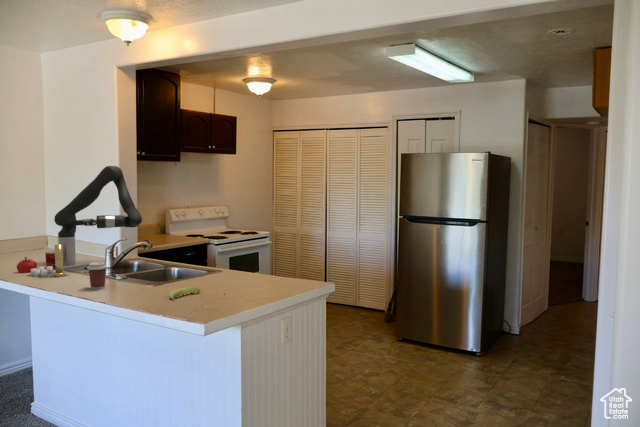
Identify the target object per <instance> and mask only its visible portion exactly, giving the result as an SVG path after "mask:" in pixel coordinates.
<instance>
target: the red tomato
mask: <svg viewBox="0 0 640 427" xmlns="http://www.w3.org/2000/svg"><path fill="white" fill-rule="evenodd" d="M34 268H36V269H38V263H37V262H36V261H35V260H33V259H32V258H28V257H27V256H24V259H22V260H20V261H19V262H18V263H17V265H16V270H17V272H18V273H19V274H28V273H31V269H34Z"/></svg>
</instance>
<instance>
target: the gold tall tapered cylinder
mask: <svg viewBox="0 0 640 427" xmlns="http://www.w3.org/2000/svg"><path fill="white" fill-rule="evenodd" d="M54 251H55V268H56V270H55V272H53V273H54V276H55V277H59V276H65V275H66V272H65V271H64V265H63V253H62V244H57V243H56V244H54ZM55 277H54V278H55ZM65 277H66V276H65Z"/></svg>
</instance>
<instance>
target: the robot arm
mask: <svg viewBox="0 0 640 427" xmlns="http://www.w3.org/2000/svg"><path fill="white" fill-rule="evenodd" d="M111 182H113V183H114V185H115V187H116V189H117V192H118V193H117V194H118V201H119V203H120V206H121V208H122V211H123V212H124V213H125V214H126V215H127V216H124V215H121V214H120V215H119V214H118V215H117V214H115V215H113V214H112V215H111V214H109V215H108V214H107V215H96V219H94V218H84V219H83V218H82V219H77V216H76V214H77V213H79V212H81V211H82V210H83V211H84V209H86V208H88V207H89V206H91V205H92V204H93V203H94V202H95V201H96V200H98V199H99V196H100V195H101V192H102V190H103V189H104V188H105V186H107V185H108V184H109V183H111ZM53 221H54V223H55V225H57V226H60V227H61V230H60V231H58V233H57V239H58V241H57V242H58V244H62V253H63V266H71V265H76V264H77V262H76V236H75V235H76V231H77V226H84V227H90V226H91V227H93V226H96V228H97V229H112V228H122V227H123V228H136V227H139V226H140V225H141V223H142V222H143V217H142V215H141V213H140V211H139V210H138V209H137V208H136V205H135V203H134V201H133V199H132V197H131V194H130V192H129V189H128V187H127V182H126V179H125V177H124V174H123V170H122V168H120V167H119V166H116V165H107V166H105V167H104V168H103V169H101V171H100V172H99V173H98V174H97V176H95V178H94V179H93V180H92V181H91V182H90V183H89V184H88V185H87V186H85V187H84V188H83V189H82V190H81V191H80V192H79V193H78V194H77V195H76V196H75V197H74V198H73V199H72V200H71V201H70V202H69V203H68V204H67V205H66V206H65V207H63V208H62V209H61V210H59V211H58V212H57V213H56V214H55V215H54V220H53Z"/></svg>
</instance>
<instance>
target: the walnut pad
mask: <svg viewBox="0 0 640 427" xmlns="http://www.w3.org/2000/svg"><path fill="white" fill-rule="evenodd" d="M65 277H70V274H65V276H59V277H55V276H54V275H53V276H49V278H55V279H56V278H57V279H60V278H65Z"/></svg>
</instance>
